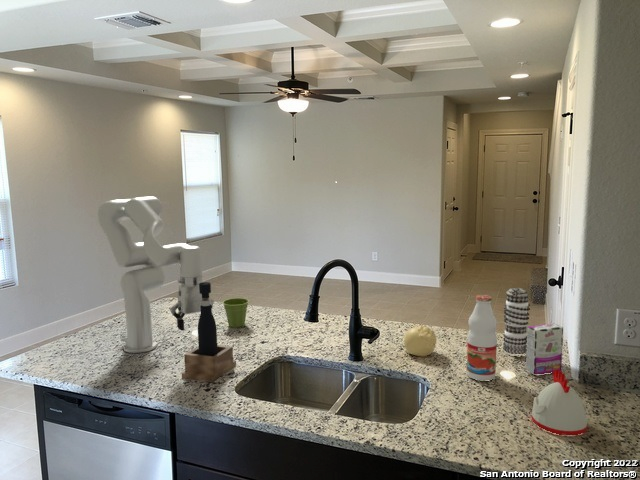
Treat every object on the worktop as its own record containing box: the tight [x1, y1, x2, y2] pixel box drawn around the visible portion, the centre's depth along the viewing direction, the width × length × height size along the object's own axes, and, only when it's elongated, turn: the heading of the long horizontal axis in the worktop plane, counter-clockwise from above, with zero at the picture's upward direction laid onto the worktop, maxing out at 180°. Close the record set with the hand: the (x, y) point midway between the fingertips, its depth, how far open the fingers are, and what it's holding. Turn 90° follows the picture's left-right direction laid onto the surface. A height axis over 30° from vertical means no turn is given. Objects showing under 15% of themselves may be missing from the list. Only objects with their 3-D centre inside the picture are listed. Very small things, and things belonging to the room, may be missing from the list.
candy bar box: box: [525, 323, 564, 374], centre depth 175 cm, size 11×5×16 cm, turn 105°
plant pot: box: [222, 297, 250, 328], centre depth 231 cm, size 12×12×11 cm
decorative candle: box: [502, 287, 531, 354], centre depth 193 cm, size 9×9×25 cm
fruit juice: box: [466, 294, 498, 380], centre depth 171 cm, size 9×9×28 cm
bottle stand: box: [181, 344, 237, 383], centre depth 180 cm, size 12×16×8 cm
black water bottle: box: [197, 281, 218, 356], centre depth 178 cm, size 6×6×30 cm
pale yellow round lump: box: [403, 324, 437, 357], centre depth 194 cm, size 11×12×11 cm
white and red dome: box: [531, 369, 588, 435], centre depth 140 cm, size 14×14×15 cm
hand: (193, 326), depth 185 cm, fingers open, 9 cm apart
